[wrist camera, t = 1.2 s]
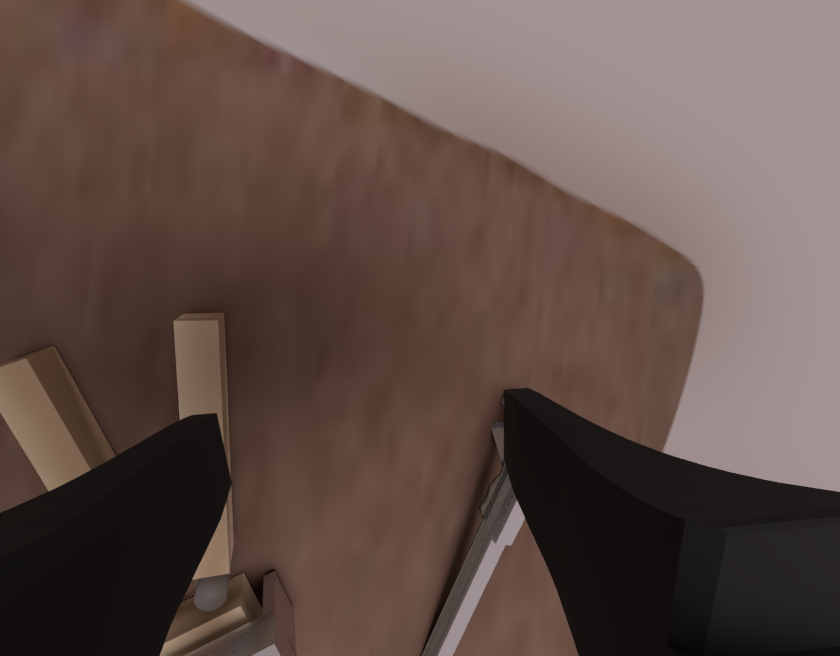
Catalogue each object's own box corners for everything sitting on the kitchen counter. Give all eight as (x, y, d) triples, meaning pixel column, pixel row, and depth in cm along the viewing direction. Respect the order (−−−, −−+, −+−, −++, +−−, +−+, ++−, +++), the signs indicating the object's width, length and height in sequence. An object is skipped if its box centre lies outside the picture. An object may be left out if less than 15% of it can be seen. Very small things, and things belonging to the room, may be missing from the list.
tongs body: (193, 669, 24) (185, 712, 22) (11, 359, 20) (-23, 374, 17) (272, 628, 25) (272, 666, 23) (116, 323, 21) (97, 333, 18)
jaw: (199, 577, 24) (191, 614, 21) (184, 313, 21) (172, 321, 19) (235, 571, 24) (230, 607, 22) (224, 312, 22) (217, 320, 19)
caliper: (499, 390, 28) (560, 430, 22) (514, 394, 28) (579, 434, 22) (406, 694, 29) (439, 808, 23) (421, 694, 30) (458, 806, 24)
